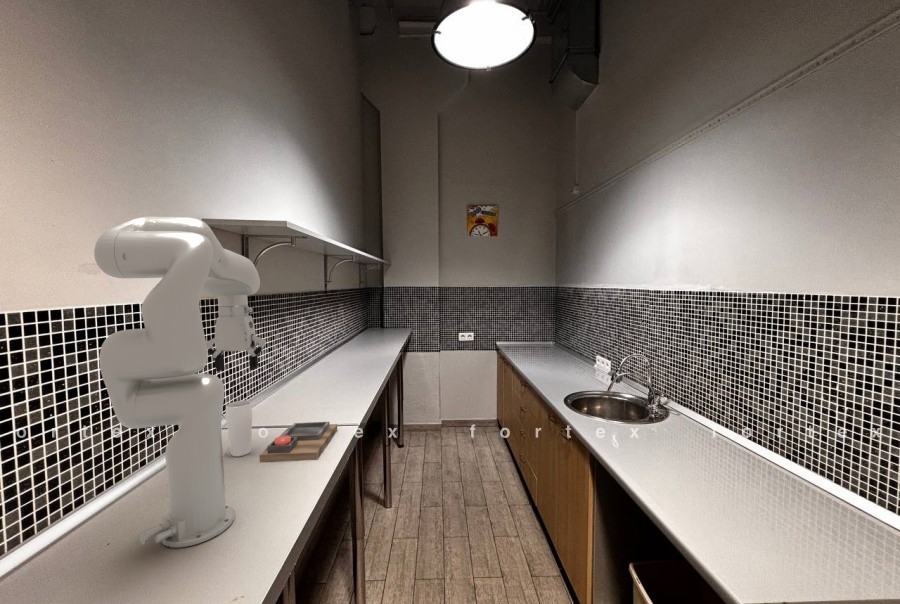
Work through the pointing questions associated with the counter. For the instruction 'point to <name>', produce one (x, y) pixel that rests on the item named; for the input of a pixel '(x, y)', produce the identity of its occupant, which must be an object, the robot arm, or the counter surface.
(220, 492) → the robot arm
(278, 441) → the button
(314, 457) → the brown flat wooden board
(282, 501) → the counter surface
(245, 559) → the counter surface
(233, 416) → the drinking glass
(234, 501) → the counter surface
